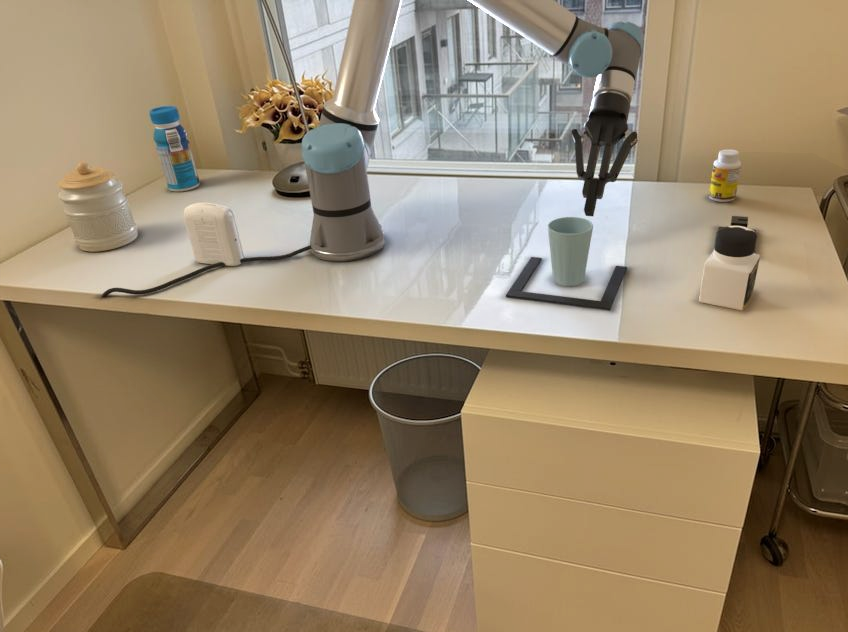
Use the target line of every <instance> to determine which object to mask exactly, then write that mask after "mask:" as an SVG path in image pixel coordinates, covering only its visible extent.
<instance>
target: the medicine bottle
mask: <svg viewBox="0 0 848 632" xmlns="http://www.w3.org/2000/svg"><path fill="white" fill-rule="evenodd" d="M722 227H723V228H721V229H719V230H718V229H717V231H716V234H715V241H714V247H713V250H712V252H711V253H710V255H709V257H708V258H707V259H706V261H705V263H703V269H702V277H701V283H700V291H699V297H698V302H699V303H702V304H707V305H712V306H716V307H721V308H726V309H732V310H736V311H744V310H745V308H746V306H747V304H748V303H749V301H750V299H751V298H752V297H751V296H752V295H753V293H754V288H755V284H756V278H757V275H758V269H759V264H760V258H761V256H760V255H761V254H759V253H756V254H754V251H755V246H756V247H757V240H758V234H757V232H756V233H755V231H753V230H752V229H753V228H750V227H748V226H747V227H743V226H730V225H727V226H722Z"/></svg>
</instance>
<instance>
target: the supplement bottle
mask: <svg viewBox="0 0 848 632" xmlns="http://www.w3.org/2000/svg"><path fill="white" fill-rule="evenodd" d="M739 155H740V151H738V150H735V149H730V148H729V149H722V150H719V151H718V155H717V159H715V160H714V161H713V165H712V172H711V179H710V185H709V191H708V192H709V193H708V197H709V199H711V201H714V202H716V203H717V202H719V203H729V202H732V201H734V200H735V199H736V197H737V191H738V186H739V180H740V175H741V169H742V168H741V167H742V162H741V161H740V160H739Z"/></svg>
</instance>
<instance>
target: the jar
mask: <svg viewBox="0 0 848 632" xmlns="http://www.w3.org/2000/svg"><path fill="white" fill-rule="evenodd" d="M58 187H59V188H61V190H60V191H59V193H58V195H57V196H58V197H57V198H58V199H59V200H60V201H62V202H63V205H64V208H63V212H64V214H65V216H66V219H67V221H68V223H69V226H70V229H71V232H72V234H73V239H74V242H75V243H76V245H77V246H78V249H80V250H82V251H85V252H91V253H92V252H105V251H110V250H114V249H118V248H121V247H124V246H126V245H128V244H130V243H132V242H133V241H135V240H137V238H138V236H139V232H138V227H137V223H136V221H135V219H134V216H133V214H132V210H131V207H130V204H129V199H128V196H126V195H125V193H124V192H123V191H124V190H123V187H124V183H123V181H121V180H119V179H116V172H114V171H112V170H110V169H107V168H106V167H102V166H90V164H89V163H87V162H86V161H80V162H78V163H77V164H76V170H73V171H70V172H68V173H66V174H65V175H64V176H63V178H61V180H59V182H58Z"/></svg>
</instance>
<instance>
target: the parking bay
mask: <svg viewBox="0 0 848 632" xmlns="http://www.w3.org/2000/svg"><path fill="white" fill-rule="evenodd" d="M541 261H542V257H538V256H537V257H536V256H531V257H530V258H529V260H528V262H527V263H526V264H525V266H524V267H523V268H522V270H521V272H520V274H519V275H518V276H517V278H516V279H515V280H514V282H513V284H512V285H511V287H510V288H509V290H508V291H507V293H506V294H505V298H507V299H508V298H509V299H516V300H524V301H533V302H539V303H547V304H554V305H555V304H556V305H563V306H572V307H578V308H579V307H580V308H585V309H586V308H587V309H588V308H589V309H593V310H594V309H595V310H601V311H611V309H612V307H613V304H614V302H615V299H616V297H617V294H618V292H619V289H620V287H621V285H622V282H623V281H624V277H625V275H626V272H627V269H628V267H627V266H623V265H622V266H621V265H615V267H614V269H613V272H612V274H611V276H610V278H609V281H608V283H607V285H606V287H605V289H604V292H603V295H602V297H601V298H600V300H595V299H586V298H578V297H572V296H563V295H562V296H561V295H554V294H546V293H538V292H529V291H523V290H524V288H525V287H526V285H527V284H528V282H529V281H530V279H531V277H532V276H533V274H534V273H535V271H536V269H537V268H538V267H539V265H540V264H541Z"/></svg>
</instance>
